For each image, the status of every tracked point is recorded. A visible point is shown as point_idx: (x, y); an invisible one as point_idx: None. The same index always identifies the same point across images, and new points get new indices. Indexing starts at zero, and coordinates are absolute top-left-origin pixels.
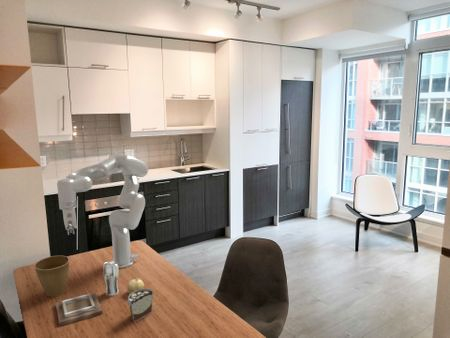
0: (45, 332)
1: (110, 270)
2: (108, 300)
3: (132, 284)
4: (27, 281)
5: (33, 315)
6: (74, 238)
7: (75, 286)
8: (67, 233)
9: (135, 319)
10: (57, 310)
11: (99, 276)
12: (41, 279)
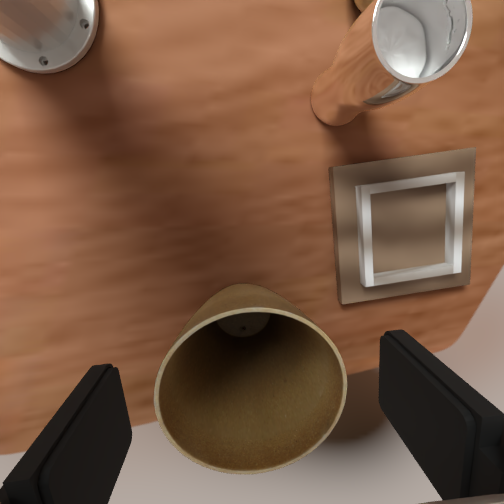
0: (470, 313)
1: (452, 46)
2: (388, 119)
3: None
4: None
5: (363, 355)
6: (431, 364)
7: (219, 243)
8: (118, 470)
9: None
10: (395, 294)
11: (160, 143)
12: (295, 394)
